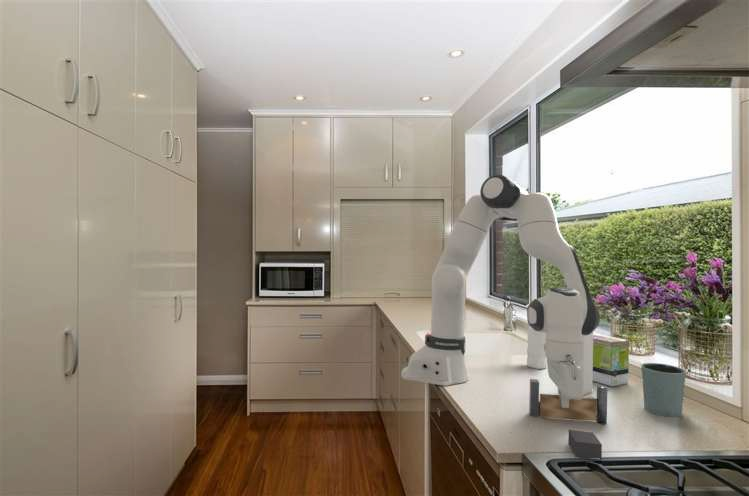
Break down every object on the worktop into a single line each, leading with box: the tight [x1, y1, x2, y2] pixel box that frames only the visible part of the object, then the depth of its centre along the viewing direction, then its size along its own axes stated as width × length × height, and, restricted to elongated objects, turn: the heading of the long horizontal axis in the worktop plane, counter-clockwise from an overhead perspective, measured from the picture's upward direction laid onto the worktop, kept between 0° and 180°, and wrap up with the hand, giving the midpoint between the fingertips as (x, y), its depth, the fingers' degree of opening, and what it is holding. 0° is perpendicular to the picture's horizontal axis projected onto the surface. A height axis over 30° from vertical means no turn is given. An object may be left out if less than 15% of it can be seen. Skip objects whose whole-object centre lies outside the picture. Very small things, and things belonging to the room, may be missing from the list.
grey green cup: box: [640, 362, 687, 418], centre depth 113 cm, size 10×10×12 cm
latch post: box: [528, 378, 540, 418], centre depth 108 cm, size 4×3×9 cm
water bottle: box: [526, 323, 547, 370], centre depth 155 cm, size 7×7×25 cm
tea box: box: [592, 333, 630, 387], centre depth 141 cm, size 15×10×15 cm, turn 28°
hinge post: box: [595, 385, 608, 425], centre depth 104 cm, size 2×2×9 cm
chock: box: [567, 429, 603, 459], centre depth 88 cm, size 5×6×4 cm
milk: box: [578, 331, 594, 396], centre depth 128 cm, size 6×6×22 cm
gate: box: [539, 393, 596, 422], centre depth 105 cm, size 13×1×6 cm, turn 84°
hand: (564, 406), depth 103 cm, fingers closed
